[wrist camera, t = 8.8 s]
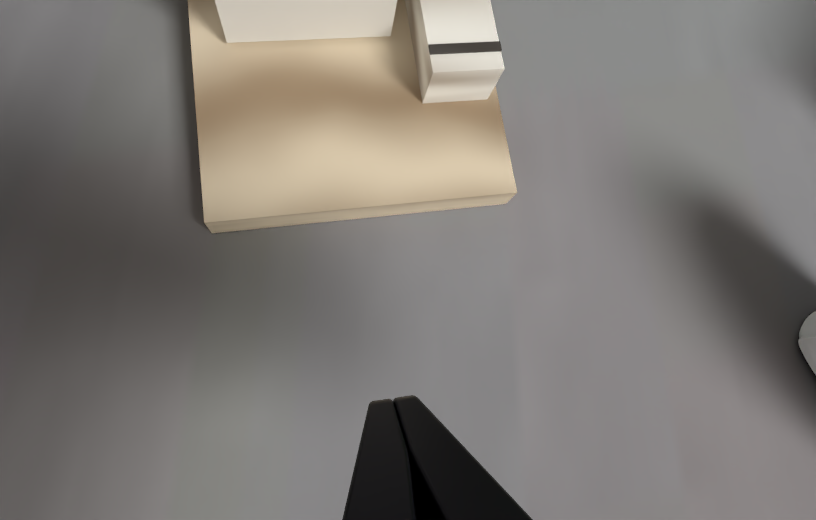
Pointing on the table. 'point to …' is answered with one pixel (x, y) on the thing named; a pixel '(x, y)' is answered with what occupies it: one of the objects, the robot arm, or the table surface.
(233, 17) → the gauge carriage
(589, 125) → the table surface
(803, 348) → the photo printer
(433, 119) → the base
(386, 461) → the robot arm
